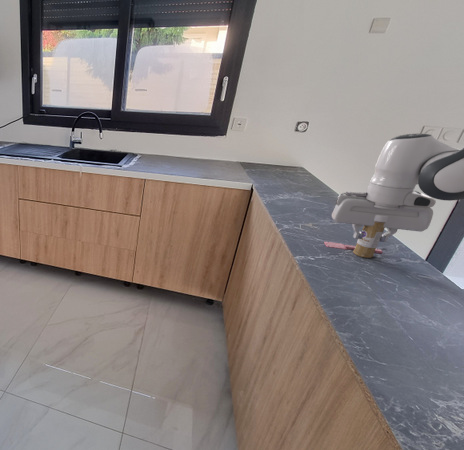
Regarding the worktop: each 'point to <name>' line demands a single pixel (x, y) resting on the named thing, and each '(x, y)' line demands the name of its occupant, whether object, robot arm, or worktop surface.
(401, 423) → the worktop surface
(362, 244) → the sprinkles bottle
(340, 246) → the spatula
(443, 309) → the worktop surface
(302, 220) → the worktop surface
